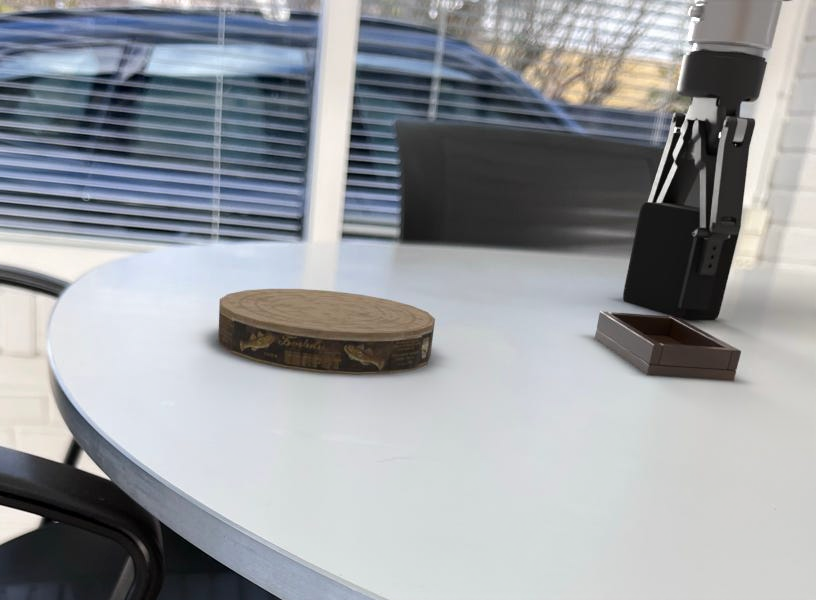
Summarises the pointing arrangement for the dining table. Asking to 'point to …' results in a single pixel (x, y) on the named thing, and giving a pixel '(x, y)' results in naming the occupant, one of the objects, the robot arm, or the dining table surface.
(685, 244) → the electronic device
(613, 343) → the brown box
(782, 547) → the dining table surface
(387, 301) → the tin can
